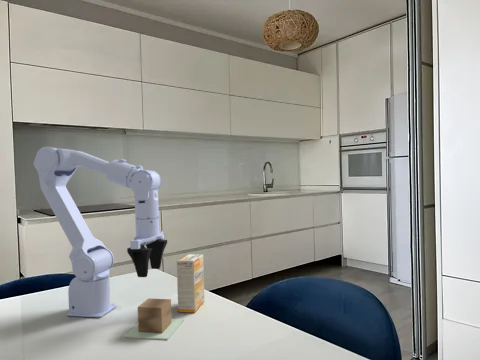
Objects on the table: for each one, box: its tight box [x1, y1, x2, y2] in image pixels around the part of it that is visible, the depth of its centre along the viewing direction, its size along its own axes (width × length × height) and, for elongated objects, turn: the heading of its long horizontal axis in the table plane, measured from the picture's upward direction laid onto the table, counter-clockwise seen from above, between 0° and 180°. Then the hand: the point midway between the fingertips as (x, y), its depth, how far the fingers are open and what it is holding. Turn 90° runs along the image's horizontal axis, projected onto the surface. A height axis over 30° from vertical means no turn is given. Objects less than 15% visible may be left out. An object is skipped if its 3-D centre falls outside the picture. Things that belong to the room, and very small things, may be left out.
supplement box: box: [176, 253, 205, 314], centre depth 93 cm, size 8×5×13 cm, turn 168°
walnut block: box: [137, 298, 173, 333], centre depth 80 cm, size 6×6×6 cm
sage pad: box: [123, 318, 185, 341], centre depth 80 cm, size 10×10×1 cm
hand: (149, 272), depth 89 cm, fingers open, 7 cm apart
